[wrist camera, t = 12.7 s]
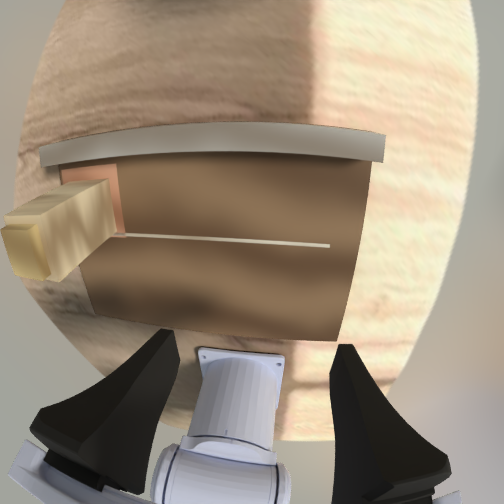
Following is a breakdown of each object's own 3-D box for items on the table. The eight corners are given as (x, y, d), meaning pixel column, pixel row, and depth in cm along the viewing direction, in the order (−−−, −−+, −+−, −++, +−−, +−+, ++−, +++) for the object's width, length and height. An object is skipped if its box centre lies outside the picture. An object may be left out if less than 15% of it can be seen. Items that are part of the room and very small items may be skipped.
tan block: (116, 231, 19) (51, 290, 12) (78, 229, 20) (13, 281, 13) (108, 178, 17) (30, 221, 10) (69, 181, 18) (-6, 221, 11)
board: (335, 331, 23) (339, 359, 20) (101, 306, 25) (85, 326, 22) (368, 131, 15) (385, 135, 12) (65, 139, 17) (38, 147, 15)
